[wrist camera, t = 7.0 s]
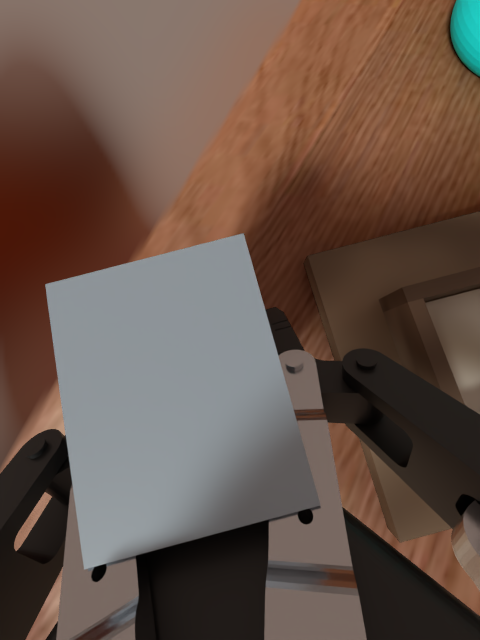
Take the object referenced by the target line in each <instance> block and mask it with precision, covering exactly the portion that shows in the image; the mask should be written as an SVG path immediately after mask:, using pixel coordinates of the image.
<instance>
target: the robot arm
mask: <svg viewBox="0 0 480 640" xmlns="http://www.w3.org/2000/svg"><path fill="white" fill-rule="evenodd" d="M265 311H266V314H267V318H268V321H269V325H270V328H271V332H272V335H273V339H274V342H275V346H276V350H277V353H278V357H279V360H280V364H281V367H282V371H283V374H284V378H285V381H286V385H287V388H288V392H289V395H290V399H291V402H292V406H293V409H294V413H295V417H296V420H297V424H298V427H299V431H300V434H301V438H302V441H303V445H304V448H305V452H306V455H307V459H308V462H309V466H310V469H311V473H312V477H313V480H314V484H315V487H316V491H317V494H318V498H319V501H320V506H316V507H313V508H309V509H305V510H302V511H298V512H294V513H290V514H287V515H283V516H279V517H276V518H272V519H268V520H265V521H261V522H257V523H254V524H250V525H246V526H243V527H239V528H235V529H232V530H228V531H224V532H221V533H217V534H213V535H209V536H206V537H202V538H198V539H195V540H191V541H187V542H184V543H180V544H176V545H173V546H169V547H165V548H162V549H158V550H154V551H151V552H147V553H143V554H139V555H136V556H132V557H128V558H125V559H121V560H117V561H114V562H110V563H106V564H103V565H99V566H95V567H92V568H88V569H84V565H83V558H82V551H81V543H80V536H79V529H78V521H77V514H76V506H75V499H74V492H73V484H72V477H71V470H70V462H69V455H68V448H67V440H66V435H65V436H64V435H63V434H62V433H61V432H60V431H59V430H56V429H50V430H46V431H43V432H41V433H39V434H37V435H36V436H34V437H33V438H31V439H30V440H29V441H28V442H27V443H26V444H25V445H24V446H23V447H22V448H21V449H20V450H19V452H18V453H17V454H16V455H15V456H14V458H13V459H12V460H11V461H10V463H9V464H8V465H7V466H6V468H5V469H4V470H3V471H2V472H1V474H0V640H25V639H26V637H27V635H28V633H29V631H30V629H31V628H32V626H33V624H34V622H35V620H36V618H37V616H38V614H39V612H40V610H41V608H42V606H43V604H44V602H45V600H46V598H47V596H48V594H49V592H50V590H51V589H52V587H53V585H54V583H55V581H56V579H57V577H58V575H59V573H60V571H61V569H62V567H63V573H62V584H61V595H60V605H59V616H58V622H57V623H56V625H55V626H54V628H53V629H52V631H51V632H50V634H49V635H48V637H47V639H46V640H480V616H479V615H477V614H476V613H475V612H474V611H472V610H471V609H470V608H469V607H467V606H466V605H465V604H464V603H462V602H461V601H460V600H459V599H457V598H456V597H455V596H454V595H452V594H451V593H450V592H449V591H447V590H446V589H445V588H444V587H442V586H441V585H440V584H439V583H437V582H436V581H435V580H434V579H432V578H431V577H430V576H428V575H427V574H426V573H425V572H423V571H422V570H421V569H420V568H418V567H417V566H416V565H415V564H413V563H412V562H411V561H410V560H408V559H407V558H406V557H405V556H403V555H402V554H401V553H400V552H398V551H397V550H396V549H395V548H393V547H392V546H391V545H390V544H388V543H387V542H386V541H385V540H383V539H382V538H381V537H379V536H378V535H377V534H376V533H374V532H373V531H372V530H371V529H369V528H368V527H367V526H366V525H364V524H363V523H362V522H361V521H359V520H358V519H357V518H356V517H354V516H353V515H352V514H351V513H349V512H348V511H347V510H346V509H344V508H343V507H342V503H341V498H340V492H339V486H338V480H337V474H336V469H335V463H334V457H333V451H332V445H331V440H330V434H329V428H328V422H329V423H345V424H346V426H347V427H348V428H349V429H350V430H351V431H352V432H354V433H355V434H356V435H357V436H358V437H359V438H360V439H361V440H362V441H363V442H364V443H365V444H366V445H367V446H368V447H369V448H370V449H371V450H372V451H373V452H374V453H375V454H376V455H377V456H378V457H379V458H380V459H381V460H382V461H383V462H384V463H385V464H386V465H387V466H388V467H389V468H390V469H392V470H393V471H394V472H395V473H396V474H397V475H398V476H399V477H400V478H401V479H402V480H403V481H404V482H405V483H406V484H407V485H408V486H409V487H410V488H411V489H412V490H413V491H414V492H415V493H416V494H417V495H418V496H419V497H420V498H421V499H422V500H423V501H424V502H425V503H426V504H427V505H429V506H430V507H431V508H432V509H433V510H434V511H435V512H436V513H437V514H438V515H439V516H440V517H441V518H442V519H443V520H444V521H445V522H446V523H447V524H448V525H449V526H450V527H451V528H452V529H453V530H452V535H451V542H452V547H453V550H454V553H455V555H456V557H457V559H458V561H459V563H460V564H461V566H462V567H463V569H464V570H465V571H466V572H467V574H468V575H469V576H470V578H471V579H472V580H473V581H474V583H475V584H476V586H477V587H478V589H479V591H480V414H478V413H477V412H475V411H474V410H472V409H470V408H469V407H467V406H466V405H464V404H462V403H461V402H459V401H458V400H456V399H454V398H453V397H451V396H450V395H448V394H446V393H445V392H443V391H442V390H440V389H438V388H437V387H435V386H434V385H432V384H430V383H429V382H427V381H425V380H424V379H422V378H421V377H419V376H417V375H416V374H414V373H413V372H411V371H409V370H408V369H406V368H405V367H403V366H401V365H400V364H398V363H397V362H395V361H393V360H392V359H390V358H389V357H387V356H385V355H384V354H382V353H380V352H378V351H376V350H372V349H367V348H360V349H354V350H352V351H350V352H348V353H347V354H346V355H345V356H344V357H343V360H342V361H323V360H318V359H315V358H314V357H313V356H312V355H311V354H309V353H308V352H305V351H304V349H303V347H302V345H301V344H300V342H299V340H298V338H297V336H296V334H295V332H294V331H293V329H292V327H291V325H290V323H289V321H288V319H287V318H286V316H285V314H284V312H282V311H281V310H279V309H278V308H276V307H274V308H270V309H265ZM44 492H46V493H48V494H49V495H51V496H52V498H51V500H50V501H49V503H48V504H47V506H46V508H45V509H44V511H43V512H42V514H41V516H40V517H39V519H38V520H37V522H36V523H35V525H34V527H33V528H32V530H31V531H30V533H29V535H28V536H27V538H26V539H25V541H24V542H23V544H22V546H21V547H20V548H19V549H18V550H17V551H15V549H14V541H15V538H16V536H17V533H18V532H19V530H20V529H21V527H22V526H23V524H24V523H25V521H26V519H27V518H28V516H29V515H30V513H31V512H32V510H33V509H34V507H35V506H36V504H37V503H38V501H39V500H40V498H41V497H42V495H43V494H44Z"/></svg>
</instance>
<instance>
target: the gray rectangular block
mask: <svg viewBox="0 0 480 640" xmlns="http://www.w3.org/2000/svg"><path fill="white" fill-rule="evenodd" d="M45 286H46V293H47V300H48V308H49V315H50V323H51V330H52V337H53V345H54V352H55V359H56V367H57V374H58V382H59V389H60V396H61V404H62V411H63V418H64V426H65V433H66V440H67V448H68V455H69V462H70V470H71V477H72V484H73V492H74V499H75V506H76V514H77V521H78V529H79V536H80V543H81V551H82V558H83V565H84V569H88V568H92V567H95V566H99V565H103V564H106V563H110V562H114V561H117V560H121V559H125V558H128V557H132V556H136V555H139V554H143V553H147V552H151V551H154V550H158V549H162V548H165V547H169V546H173V545H176V544H180V543H184V542H187V541H191V540H195V539H198V538H202V537H206V536H209V535H213V534H217V533H221V532H224V531H228V530H232V529H235V528H239V527H243V526H246V525H250V524H254V523H257V522H261V521H265V520H268V519H272V518H276V517H279V516H283V515H287V514H290V513H294V512H298V511H302V510H305V509H309V508H313V507H316V506H320V501H319V498H318V494H317V491H316V487H315V484H314V480H313V477H312V473H311V469H310V466H309V462H308V459H307V455H306V452H305V448H304V445H303V441H302V438H301V434H300V431H299V427H298V424H297V420H296V417H295V413H294V409H293V406H292V402H291V399H290V395H289V392H288V388H287V385H286V381H285V378H284V374H283V371H282V367H281V364H280V360H279V357H278V353H277V350H276V346H275V342H274V339H273V335H272V332H271V328H270V325H269V321H268V318H267V314H266V311H265V307H264V304H263V300H262V297H261V293H260V290H259V286H258V282H257V279H256V275H255V272H254V268H253V265H252V261H251V258H250V254H249V251H248V247H247V244H246V240H245V237H244V233H243V234H239V235H235V236H231V237H227V238H223V239H220V240H216V241H212V242H208V243H204V244H200V245H196V246H192V247H189V248H185V249H181V250H177V251H173V252H169V253H165V254H161V255H158V256H154V257H150V258H146V259H142V260H138V261H134V262H130V263H127V264H123V265H119V266H115V267H111V268H107V269H104V270H100V271H96V272H92V273H88V274H84V275H81V276H77V277H72V278H69V279H65V280H61V281H57V282H53V283H50V284H46V285H45Z"/></svg>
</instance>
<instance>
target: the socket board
mask: <svg viewBox="0 0 480 640" xmlns="http://www.w3.org/2000/svg"><path fill="white" fill-rule="evenodd" d="M304 266H305V269H306V272H307V275H308V278H309V282H310V285H311V288H312V291H313V294H314V297H315V300H316V304H317V307H318V310H319V313H320V316H321V319H322V322H323V326H324V329H325V332H326V335H327V338H328V341H329V344H330V348H331V351H332V354H333V357H334V360H335V361H342V360H343V357H344V356H345V355H346V354H347V353H348V352H350V351H352V350H354V349H360V348H367V349H372V350H376V351H378V352H380V353H382V354H384V355H385V356H387V357H389V358H390V359H392V360H393V361H395V362H397V363H398V364H400V365H401V366H403V367H405V368H406V369H408V370H409V371H411V372H413V373H414V374H416V375H417V376H419V377H421V378H422V379H424V380H425V381H427V382H429V383H430V384H432V385H434V386H435V387H437V388H438V389H440V390H442V391H443V392H445V393H446V394H448V395H450V396H451V397H453V398H454V399H456V400H458V401H459V402H461V403H462V404H464V405H466V406H467V407H469V408H470V409H472V410H474V411H475V412H477V413H478V414H480V211H479V212H475V213H471V214H467V215H463V216H459V217H455V218H451V219H448V220H444V221H440V222H436V223H432V224H428V225H424V226H421V227H417V228H413V229H409V230H405V231H401V232H397V233H394V234H390V235H386V236H382V237H378V238H374V239H370V240H367V241H363V242H359V243H355V244H351V245H347V246H343V247H340V248H336V249H332V250H328V251H324V252H320V253H316V254H312V255H309V256H307V258H306V260H305V262H304ZM359 439H360V438H359ZM360 442H361V445H362V448H363V451H364V454H365V458H366V461H367V464H368V467H369V470H370V473H371V476H372V480H373V483H374V486H375V489H376V492H377V495H378V498H379V502H380V505H381V508H382V511H383V514H384V517H385V520H386V524H387V527H388V529H389V530H390V532H391V533H392V534H393V535H394V536H395V537H396V538H397V540H398V541H399V542H404V541H408V540H411V539H415V538H419V537H422V536H426V535H429V534H433V533H437V532H440V531H444V530H448V529H451V527H450V526H449V525H448V524H447V523H446V522H445V521H444V520H443V519H442V518H441V517H440V516H439V515H438V514H437V513H436V512H435V511H434V510H433V509H432V508H431V507H430V506H429V505H427V504H426V503H425V502H424V501H423V500H422V499H421V498H420V497H419V496H418V495H417V494H416V493H415V492H414V491H413V490H412V489H411V488H410V487H409V486H408V485H407V484H406V483H405V482H404V481H403V480H402V479H401V478H400V477H399V476H398V475H397V474H396V473H395V472H394V471H393V470H392V469H390V468H389V467H388V466H387V465H386V464H385V463H384V462H383V461H382V460H381V459H380V458H379V457H378V456H377V455H376V454H375V453H374V452H373V451H372V450H371V449H370V448H369V447H368V446H367V445H366V444H365V443H364V442H363V441H362V440H361V439H360Z"/></svg>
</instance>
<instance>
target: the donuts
mask: <svg viewBox="0 0 480 640" xmlns="http://www.w3.org/2000/svg"><path fill="white" fill-rule="evenodd" d="M450 33H451V39H452V43H453V46H454V49H455V51H456V53H457V55H458V57H459V58H460V59H461V61H462V62H463V63H464V64H465V65H466V66H467V67H468V68H469V69H470V70H471V71H472V72H473V73H475V74H476V75H478V76H480V0H456V2H455V5H454V8H453V11H452V16H451V24H450Z"/></svg>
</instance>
